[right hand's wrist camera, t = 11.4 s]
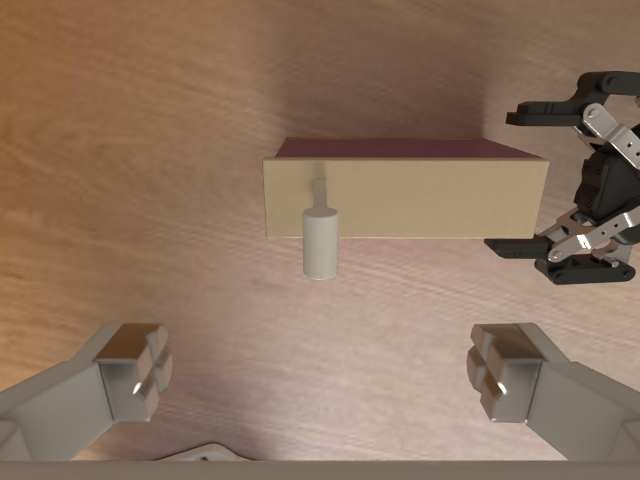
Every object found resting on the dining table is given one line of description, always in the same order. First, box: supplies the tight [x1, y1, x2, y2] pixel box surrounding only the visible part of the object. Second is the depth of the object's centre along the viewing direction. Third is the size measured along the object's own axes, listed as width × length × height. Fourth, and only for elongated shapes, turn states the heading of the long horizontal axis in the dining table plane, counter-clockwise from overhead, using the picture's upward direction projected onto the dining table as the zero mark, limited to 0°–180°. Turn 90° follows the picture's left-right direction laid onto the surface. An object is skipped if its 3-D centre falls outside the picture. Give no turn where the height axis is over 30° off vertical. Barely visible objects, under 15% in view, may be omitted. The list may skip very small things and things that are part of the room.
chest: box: [275, 138, 542, 158], centre depth 28 cm, size 16×5×9 cm, turn 90°
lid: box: [262, 157, 550, 280], centre depth 20 cm, size 17×5×8 cm, turn 90°
